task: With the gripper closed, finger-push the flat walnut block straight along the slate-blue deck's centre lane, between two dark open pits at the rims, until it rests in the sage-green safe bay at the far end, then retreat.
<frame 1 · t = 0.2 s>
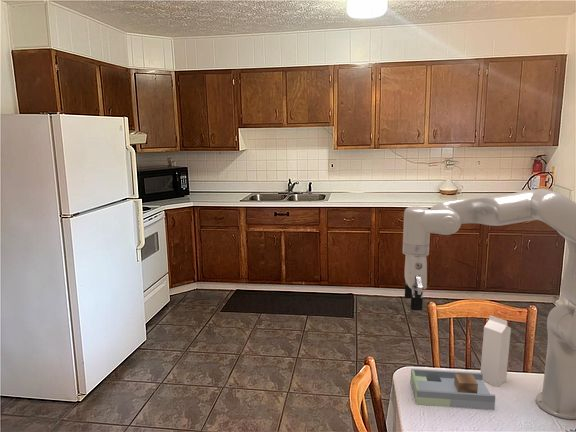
hand: (412, 303, 132), 31 cm above the table, fingers open, 9 cm apart
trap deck: (449, 394, 138), on the table
milk: (492, 380, 146), on the table
block: (465, 388, 137), point 2 cm above the table, touching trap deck
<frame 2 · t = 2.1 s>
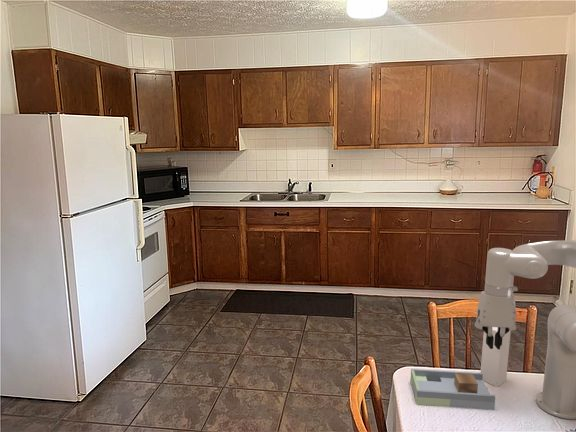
hand: (493, 346, 133), 17 cm above the table, fingers closed
nothing on the table moved.
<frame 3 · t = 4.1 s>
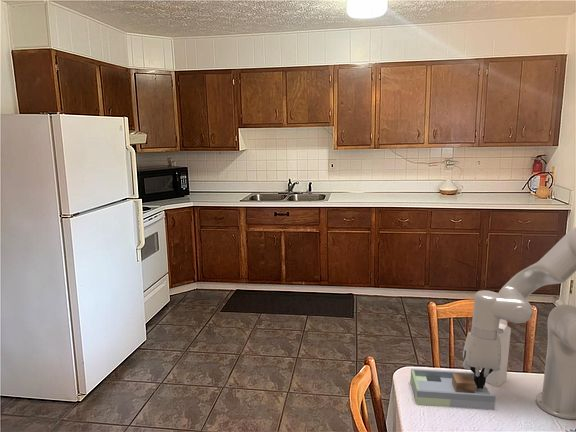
hand: (479, 386, 136), 4 cm above the table, fingers closed
nothing on the table moved.
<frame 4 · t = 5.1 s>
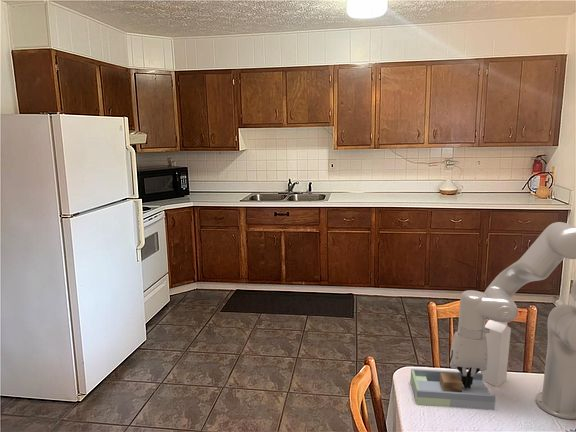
hand: (466, 385, 137), 4 cm above the table, fingers closed
block: (450, 387, 137), point 3 cm above the table, touching gripper
everything else where it was.
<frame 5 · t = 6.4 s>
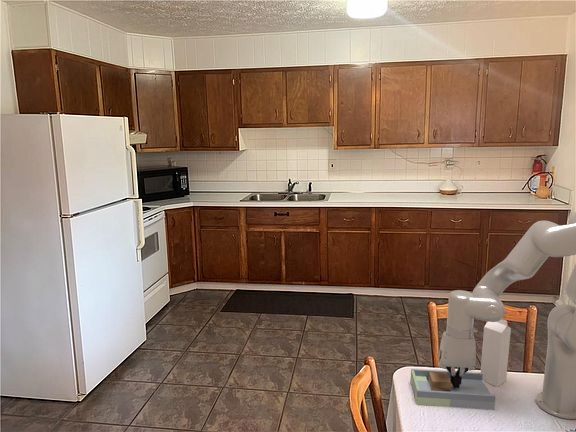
hand: (455, 385, 137), 3 cm above the table, fingers closed
block: (439, 387, 138), point 3 cm above the table, touching gripper, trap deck
everything else where it was.
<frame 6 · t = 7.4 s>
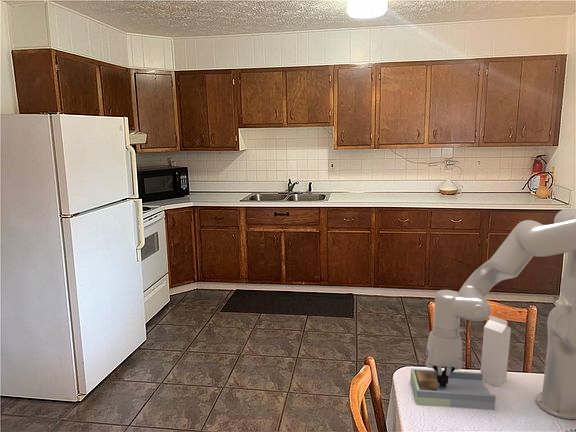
hand: (442, 384, 138), 3 cm above the table, fingers closed
block: (426, 386, 138), point 2 cm above the table, touching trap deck
everything else where it was.
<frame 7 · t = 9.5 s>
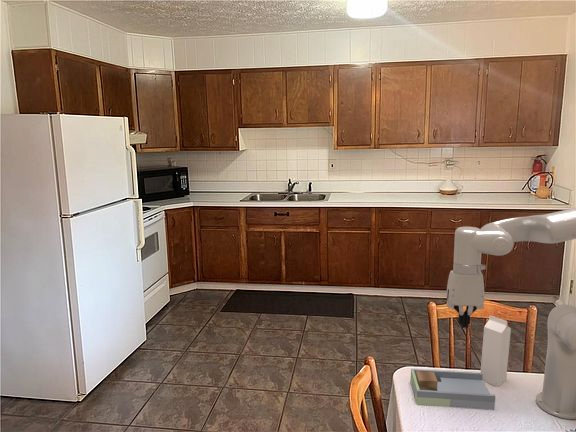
hand: (463, 326, 134), 23 cm above the table, fingers closed
nothing on the table moved.
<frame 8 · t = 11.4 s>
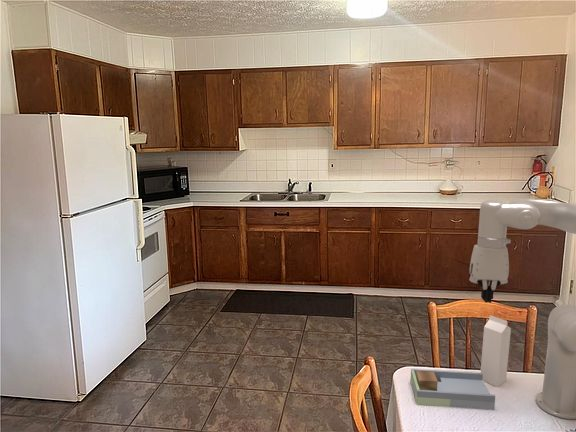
hand: (486, 300, 133), 31 cm above the table, fingers closed
nothing on the table moved.
at the end: block 0.3 cm from the target spot, point 2.5 cm above the table; block tilted 0°; block moved 11.9 cm from its start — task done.
